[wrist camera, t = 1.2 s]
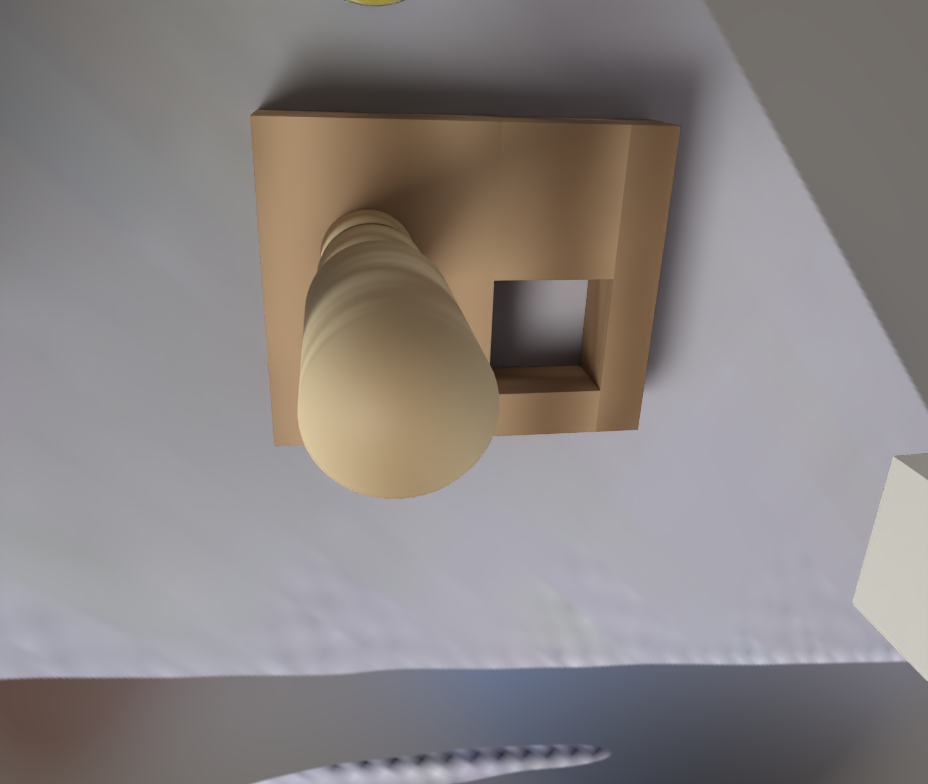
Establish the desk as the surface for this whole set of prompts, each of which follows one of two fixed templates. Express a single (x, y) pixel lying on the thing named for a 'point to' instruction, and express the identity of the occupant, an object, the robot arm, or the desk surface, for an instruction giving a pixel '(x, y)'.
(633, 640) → the desk surface
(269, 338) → the board
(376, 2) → the pill bottle
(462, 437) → the leg peg
